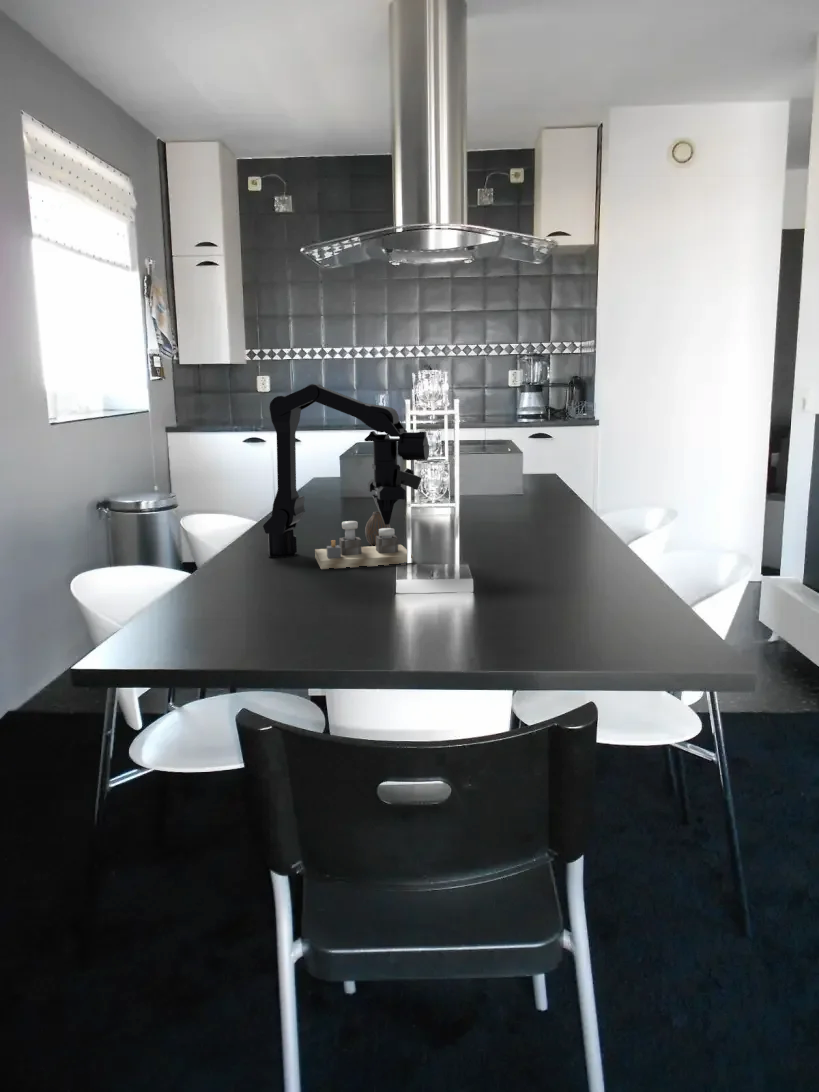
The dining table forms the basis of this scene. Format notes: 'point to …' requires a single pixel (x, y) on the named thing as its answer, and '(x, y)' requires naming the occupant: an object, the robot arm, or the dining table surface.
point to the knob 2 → (386, 532)
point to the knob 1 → (349, 529)
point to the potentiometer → (333, 550)
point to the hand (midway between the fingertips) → (386, 524)
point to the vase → (374, 527)
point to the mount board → (364, 554)
